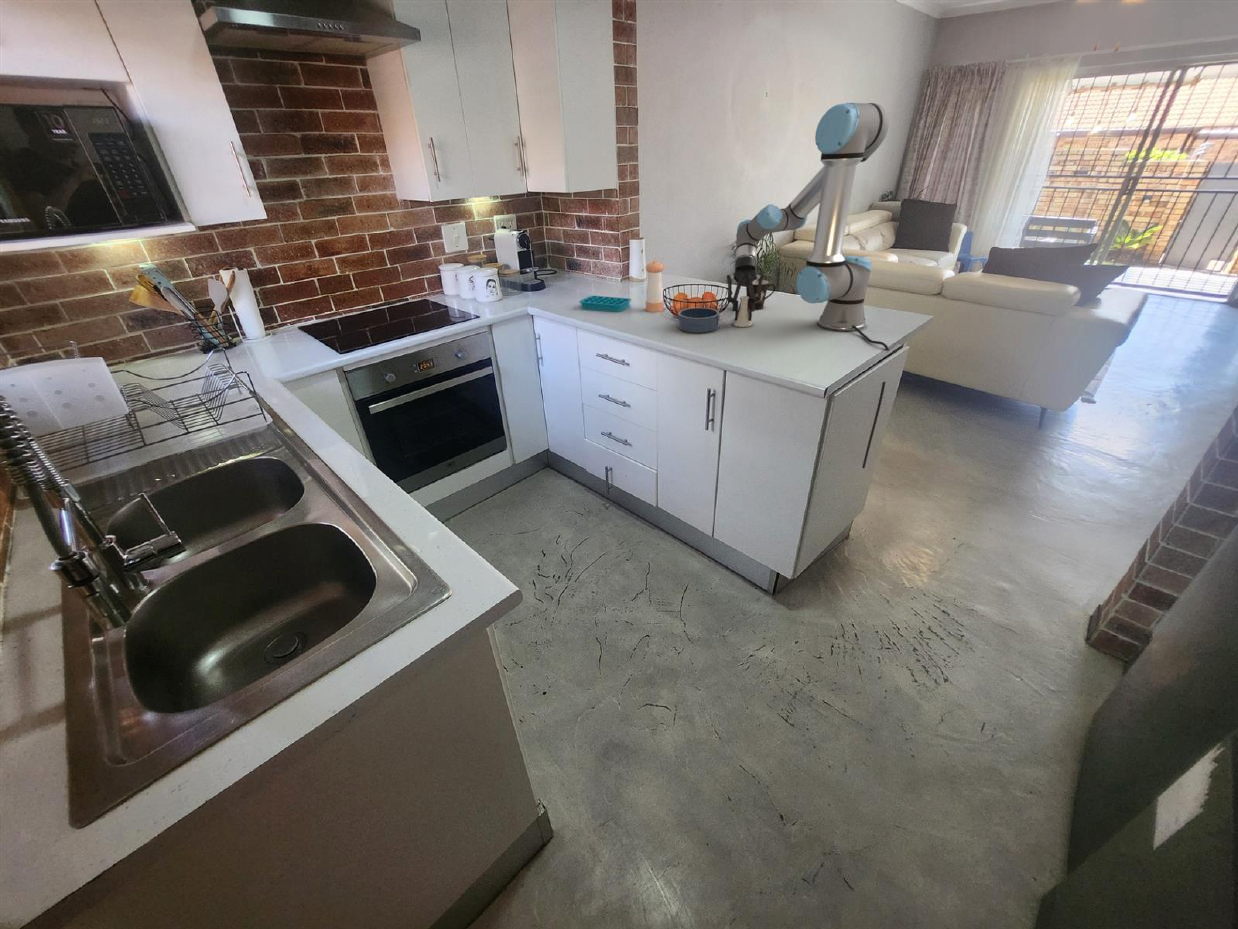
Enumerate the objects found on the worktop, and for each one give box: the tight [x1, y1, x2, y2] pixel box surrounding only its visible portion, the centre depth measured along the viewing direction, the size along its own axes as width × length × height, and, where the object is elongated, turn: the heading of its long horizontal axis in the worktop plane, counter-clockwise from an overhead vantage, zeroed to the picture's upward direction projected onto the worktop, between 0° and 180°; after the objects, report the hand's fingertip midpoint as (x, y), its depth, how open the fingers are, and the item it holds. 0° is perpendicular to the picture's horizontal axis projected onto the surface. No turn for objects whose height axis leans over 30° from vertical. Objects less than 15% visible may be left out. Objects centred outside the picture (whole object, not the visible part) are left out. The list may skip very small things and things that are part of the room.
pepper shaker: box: [645, 260, 665, 313], centre depth 204 cm, size 7×7×19 cm
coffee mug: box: [745, 279, 776, 311], centre depth 202 cm, size 12×9×10 cm
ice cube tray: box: [578, 295, 632, 313], centre depth 215 cm, size 12×20×3 cm, turn 62°
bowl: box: [677, 307, 721, 334], centre depth 183 cm, size 15×15×6 cm
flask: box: [732, 295, 753, 328], centre depth 183 cm, size 7×7×10 cm
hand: (743, 318), depth 181 cm, fingers closed on flask, 4 cm apart
